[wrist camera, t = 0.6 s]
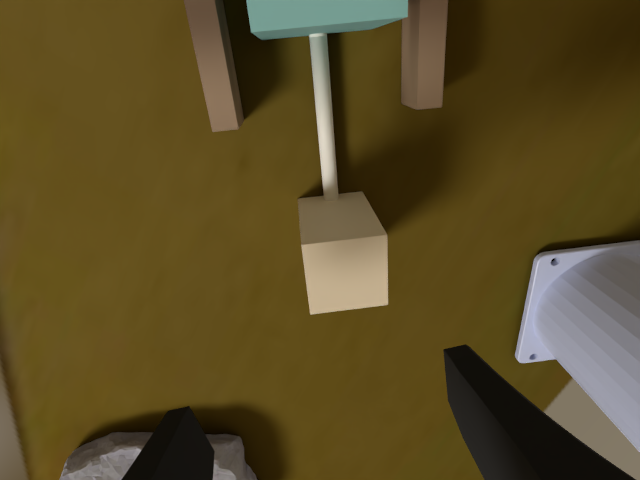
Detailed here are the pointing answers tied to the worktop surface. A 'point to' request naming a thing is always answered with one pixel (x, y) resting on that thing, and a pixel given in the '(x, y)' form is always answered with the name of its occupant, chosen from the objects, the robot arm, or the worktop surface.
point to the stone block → (123, 448)
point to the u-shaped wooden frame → (221, 81)
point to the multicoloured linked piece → (333, 160)
